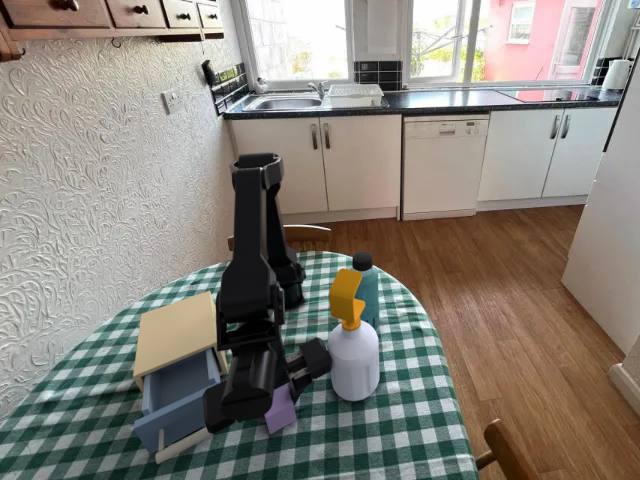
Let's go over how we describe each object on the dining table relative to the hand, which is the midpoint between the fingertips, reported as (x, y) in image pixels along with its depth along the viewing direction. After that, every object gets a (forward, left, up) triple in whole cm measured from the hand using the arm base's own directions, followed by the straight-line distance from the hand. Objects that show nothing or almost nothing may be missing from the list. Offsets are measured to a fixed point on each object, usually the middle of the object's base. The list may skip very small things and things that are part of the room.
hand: (279, 411), depth 53 cm
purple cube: (0, 0, -1) cm, 1 cm away
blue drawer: (+13, -9, 0) cm, 16 cm away
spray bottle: (-14, +1, -1) cm, 14 cm away
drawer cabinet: (+13, -21, -1) cm, 25 cm away
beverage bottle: (-21, -8, -1) cm, 23 cm away
